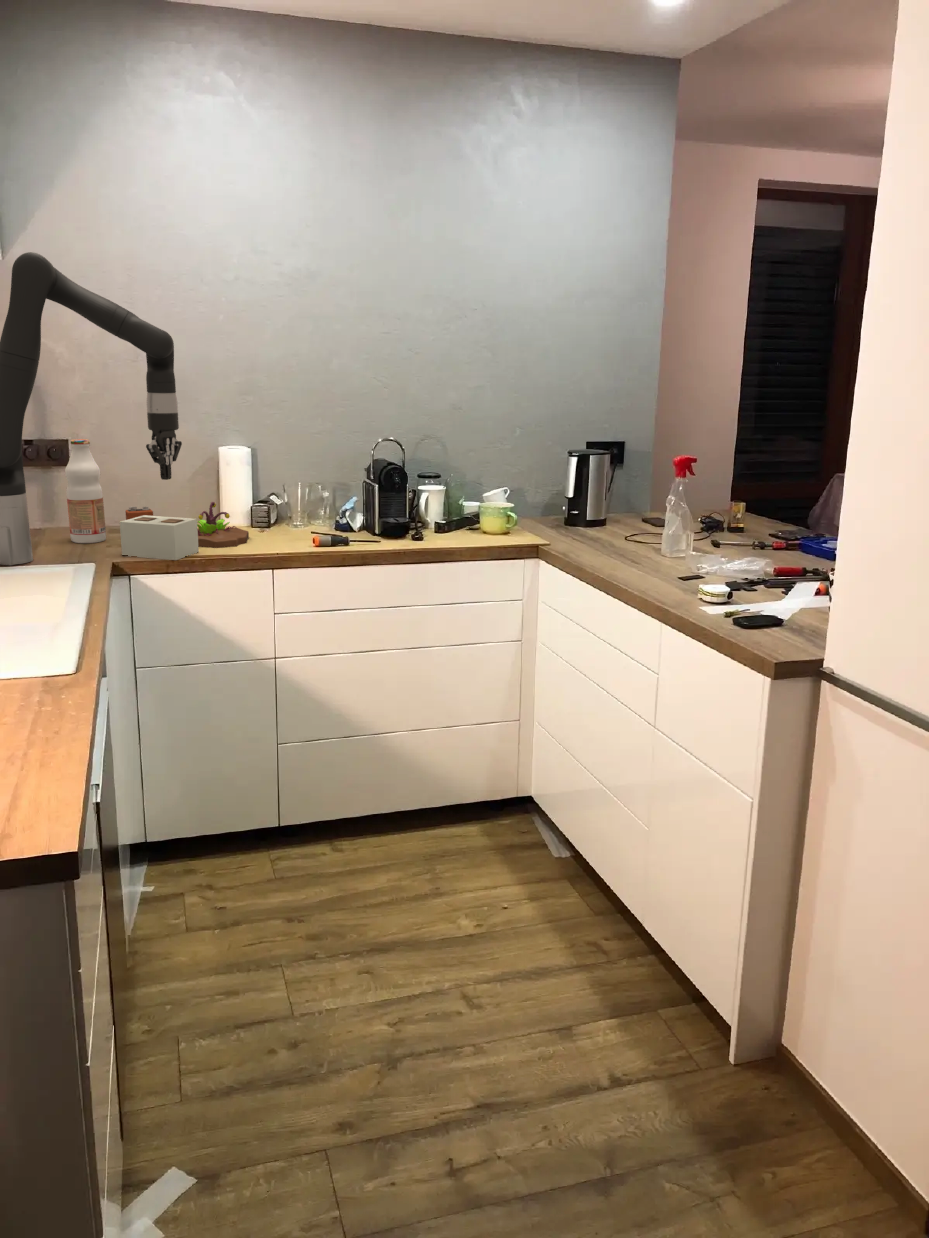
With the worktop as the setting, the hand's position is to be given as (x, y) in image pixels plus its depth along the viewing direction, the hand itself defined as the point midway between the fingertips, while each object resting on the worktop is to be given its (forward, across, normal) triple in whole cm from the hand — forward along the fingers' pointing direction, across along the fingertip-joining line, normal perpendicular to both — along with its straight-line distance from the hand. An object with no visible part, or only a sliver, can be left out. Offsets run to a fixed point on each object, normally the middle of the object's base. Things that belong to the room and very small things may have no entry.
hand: (166, 479), depth 256 cm
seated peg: (+20, 0, +7) cm, 21 cm away
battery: (+20, +12, +17) cm, 29 cm away
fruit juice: (+20, +9, +32) cm, 39 cm away
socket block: (+20, 0, +3) cm, 20 cm away
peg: (+20, 0, -1) cm, 20 cm away
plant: (+20, +21, 0) cm, 29 cm away
